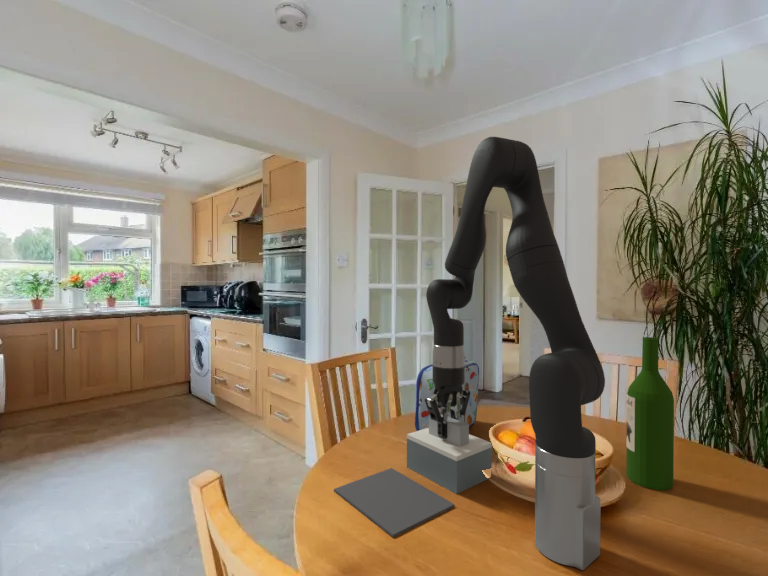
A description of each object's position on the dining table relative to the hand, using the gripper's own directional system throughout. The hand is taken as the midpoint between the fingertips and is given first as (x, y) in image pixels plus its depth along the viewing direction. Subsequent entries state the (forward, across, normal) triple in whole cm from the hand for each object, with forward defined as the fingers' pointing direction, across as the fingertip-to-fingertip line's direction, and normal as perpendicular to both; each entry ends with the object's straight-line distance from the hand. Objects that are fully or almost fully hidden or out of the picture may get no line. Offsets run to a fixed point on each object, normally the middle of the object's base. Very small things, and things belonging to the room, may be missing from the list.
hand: (448, 435), depth 95 cm
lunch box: (+9, +21, +19) cm, 30 cm away
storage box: (+9, 0, 0) cm, 9 cm away
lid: (+3, 0, 0) cm, 3 cm away
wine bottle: (+9, +33, -31) cm, 46 cm away
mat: (+9, -18, -1) cm, 20 cm away
